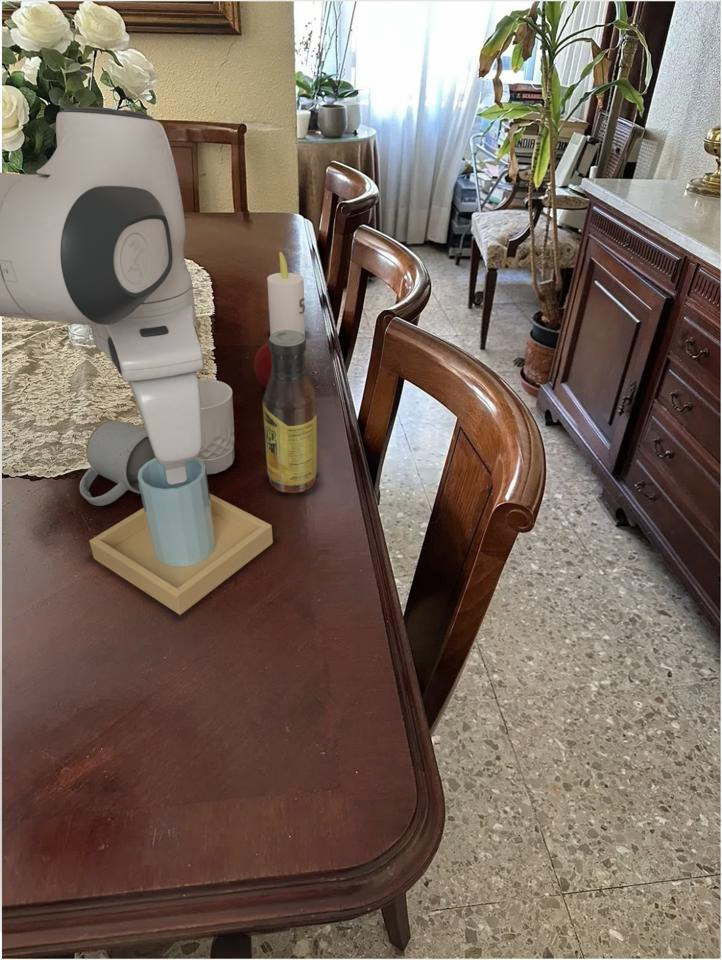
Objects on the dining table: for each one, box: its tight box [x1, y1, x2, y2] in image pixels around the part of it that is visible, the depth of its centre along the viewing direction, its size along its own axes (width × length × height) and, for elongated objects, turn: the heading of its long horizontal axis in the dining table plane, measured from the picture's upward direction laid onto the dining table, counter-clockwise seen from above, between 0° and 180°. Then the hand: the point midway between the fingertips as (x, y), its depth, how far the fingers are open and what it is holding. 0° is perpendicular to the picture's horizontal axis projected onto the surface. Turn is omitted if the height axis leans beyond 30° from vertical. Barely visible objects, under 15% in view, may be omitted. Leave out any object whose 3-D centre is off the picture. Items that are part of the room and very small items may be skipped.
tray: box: [88, 492, 274, 616], centre depth 72 cm, size 14×14×3 cm
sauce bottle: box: [262, 330, 318, 494], centre depth 78 cm, size 7×6×20 cm
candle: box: [266, 251, 306, 337], centre depth 117 cm, size 6×6×15 cm
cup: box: [137, 458, 215, 567], centre depth 69 cm, size 7×7×10 cm
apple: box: [253, 341, 272, 389], centre depth 102 cm, size 8×8×8 cm
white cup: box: [198, 378, 236, 475], centre depth 84 cm, size 8×8×10 cm
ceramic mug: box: [79, 420, 156, 507], centre depth 80 cm, size 11×8×8 cm
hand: (166, 454), depth 65 cm, fingers open, 8 cm apart
